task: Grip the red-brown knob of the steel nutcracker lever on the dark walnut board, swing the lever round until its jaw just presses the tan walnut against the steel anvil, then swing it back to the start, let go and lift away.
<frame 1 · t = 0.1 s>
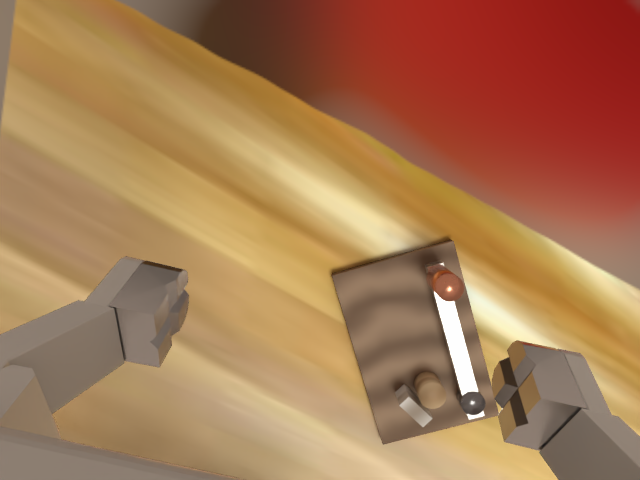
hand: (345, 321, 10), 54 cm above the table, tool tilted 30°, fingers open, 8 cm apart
nutcracker base: (415, 342, 67), on the table
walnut: (426, 383, 66), point 1 cm above the table, touching nutcracker base
lever: (460, 348, 60), point 6 cm above the table, hinge at 0.0°
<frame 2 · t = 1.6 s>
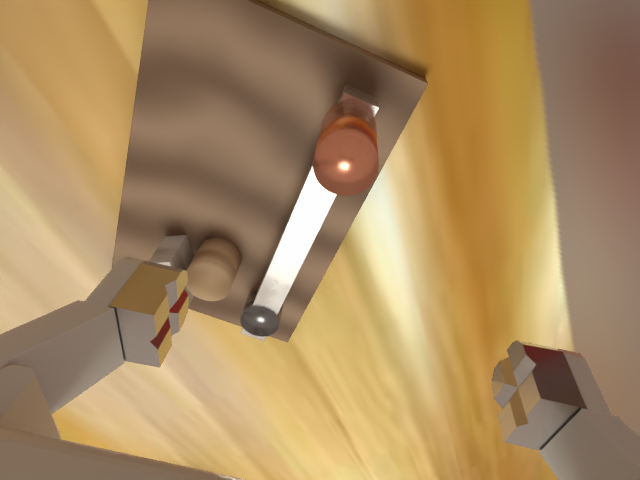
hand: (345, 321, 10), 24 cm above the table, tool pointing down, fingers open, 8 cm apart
nutcracker base: (243, 193, 36), on the table
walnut: (220, 255, 39), point 1 cm above the table, touching nutcracker base
lever: (292, 256, 32), point 6 cm above the table, hinge at 0.0°
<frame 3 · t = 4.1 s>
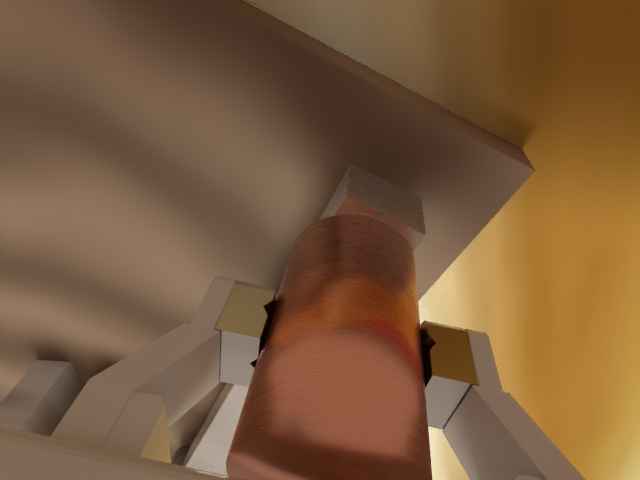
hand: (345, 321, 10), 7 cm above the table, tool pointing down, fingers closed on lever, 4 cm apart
nutcracker base: (164, 305, 21), on the table
lever: (229, 468, 17), point 6 cm above the table, hinge at 0.0°, touching gripper
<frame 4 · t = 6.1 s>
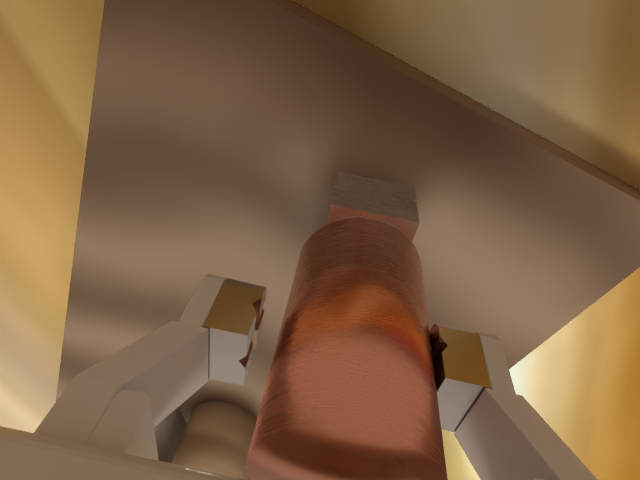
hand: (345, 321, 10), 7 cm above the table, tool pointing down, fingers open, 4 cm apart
nutcracker base: (271, 339, 22), on the table
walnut: (226, 422, 24), point 1 cm above the table, touching nutcracker base
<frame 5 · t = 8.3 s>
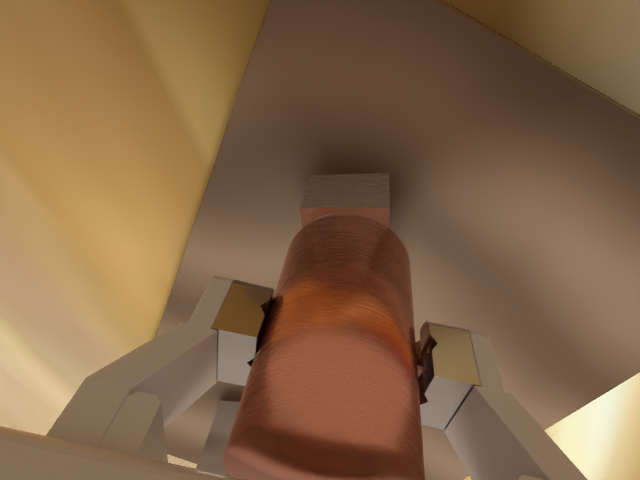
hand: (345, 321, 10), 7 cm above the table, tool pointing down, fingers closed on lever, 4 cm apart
nutcracker base: (362, 349, 21), on the table
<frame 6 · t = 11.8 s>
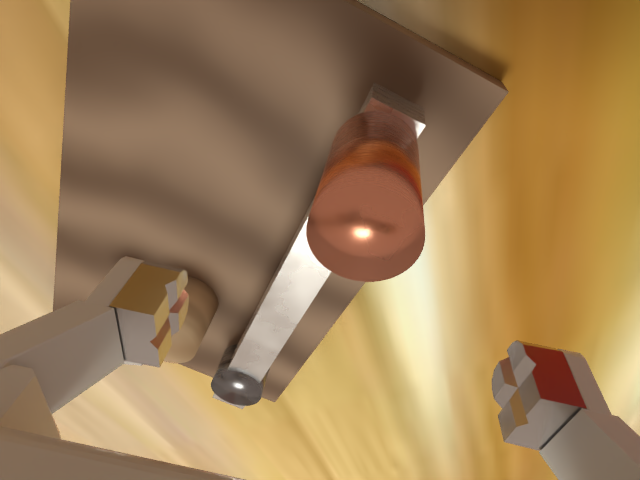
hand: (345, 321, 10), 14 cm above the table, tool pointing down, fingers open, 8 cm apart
nutcracker base: (223, 220, 27), on the table
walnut: (190, 297, 29), point 1 cm above the table, touching nutcracker base
lever: (279, 327, 22), point 6 cm above the table, hinge at 0.5°
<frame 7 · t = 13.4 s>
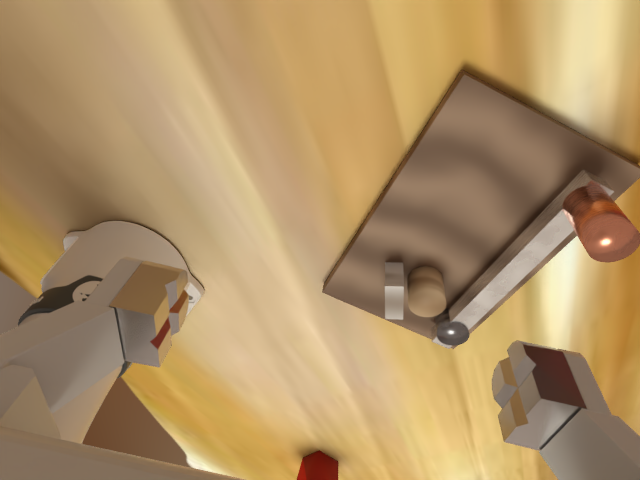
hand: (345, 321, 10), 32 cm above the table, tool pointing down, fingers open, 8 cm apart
nutcracker base: (456, 233, 46), on the table
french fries: (314, 457, 80), on the table
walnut: (424, 279, 48), point 1 cm above the table, touching nutcracker base
lever: (512, 291, 41), point 6 cm above the table, hinge at 0.5°
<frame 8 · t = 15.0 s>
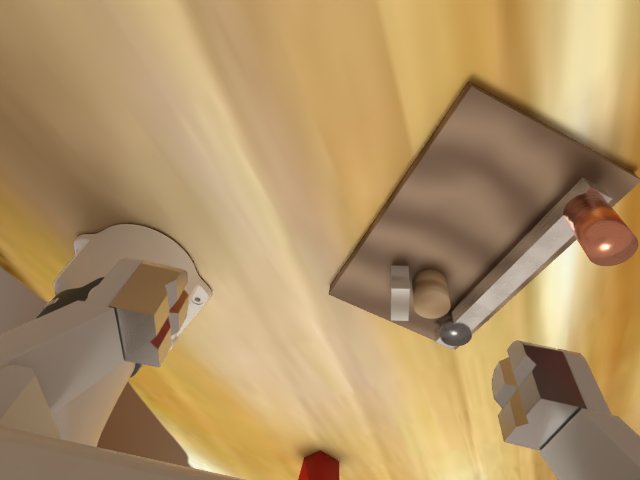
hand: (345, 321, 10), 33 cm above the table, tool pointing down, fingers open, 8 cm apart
nutcracker base: (459, 238, 48), on the table
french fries: (315, 457, 82), on the table
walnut: (429, 282, 50), point 1 cm above the table, touching nutcracker base
lever: (514, 293, 43), point 6 cm above the table, hinge at 0.5°
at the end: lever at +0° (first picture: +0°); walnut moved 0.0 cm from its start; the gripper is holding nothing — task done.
